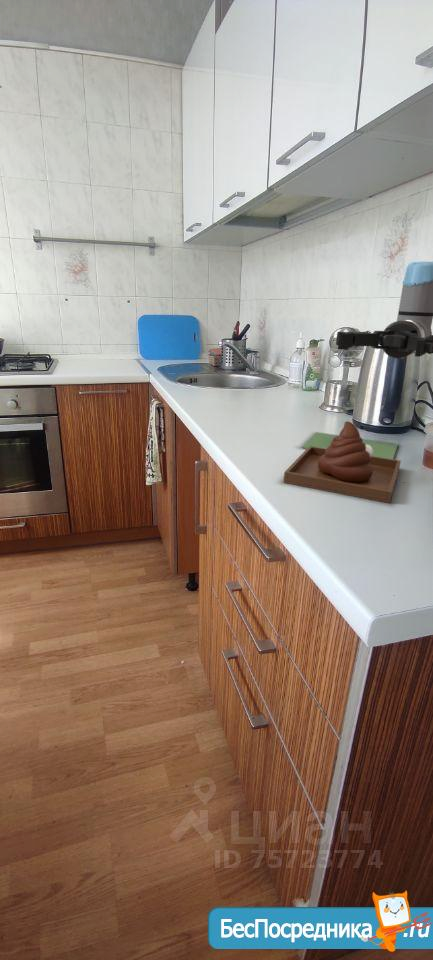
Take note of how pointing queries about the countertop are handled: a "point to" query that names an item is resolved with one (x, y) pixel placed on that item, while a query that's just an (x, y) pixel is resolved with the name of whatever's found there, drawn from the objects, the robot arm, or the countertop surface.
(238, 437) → the countertop surface
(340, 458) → the poop emoji
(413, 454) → the countertop surface
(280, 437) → the countertop surface
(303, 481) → the tray
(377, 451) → the mat
